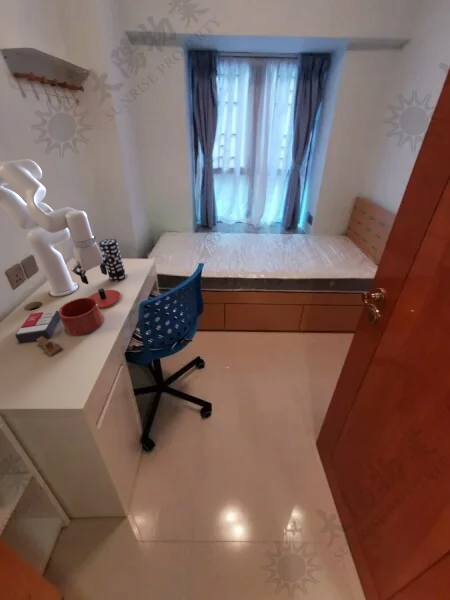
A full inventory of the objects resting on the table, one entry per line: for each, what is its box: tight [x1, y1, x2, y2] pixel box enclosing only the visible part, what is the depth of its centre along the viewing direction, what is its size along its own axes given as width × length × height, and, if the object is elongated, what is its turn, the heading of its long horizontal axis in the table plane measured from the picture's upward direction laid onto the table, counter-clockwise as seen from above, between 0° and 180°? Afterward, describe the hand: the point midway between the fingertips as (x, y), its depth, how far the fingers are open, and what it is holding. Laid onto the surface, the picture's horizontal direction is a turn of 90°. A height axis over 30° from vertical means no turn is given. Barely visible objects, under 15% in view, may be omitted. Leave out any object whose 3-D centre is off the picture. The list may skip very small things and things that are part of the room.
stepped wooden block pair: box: [35, 336, 62, 357], centre depth 103 cm, size 10×4×3 cm, turn 57°
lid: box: [88, 288, 122, 309], centre depth 129 cm, size 15×15×6 cm
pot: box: [58, 297, 104, 336], centre depth 113 cm, size 14×14×8 cm
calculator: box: [14, 309, 61, 343], centre depth 113 cm, size 11×4×15 cm
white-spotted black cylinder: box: [98, 238, 127, 282], centre depth 143 cm, size 8×8×20 cm
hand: (95, 278), depth 124 cm, fingers open, 9 cm apart
